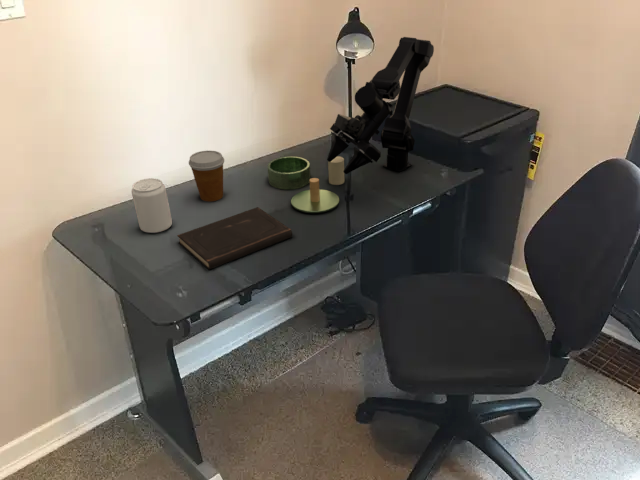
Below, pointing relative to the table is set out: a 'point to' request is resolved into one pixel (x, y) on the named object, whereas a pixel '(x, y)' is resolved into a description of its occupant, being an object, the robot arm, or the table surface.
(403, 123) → the robot arm
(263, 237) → the hardcover book
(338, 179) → the candle
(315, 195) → the lid
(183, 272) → the table surface
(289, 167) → the tin
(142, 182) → the beverage can
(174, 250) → the table surface
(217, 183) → the disposable coffee cup
